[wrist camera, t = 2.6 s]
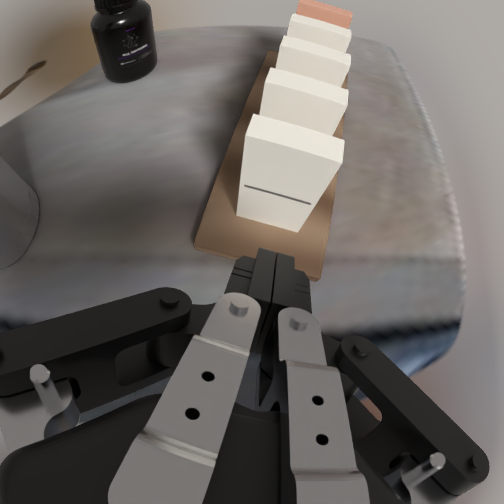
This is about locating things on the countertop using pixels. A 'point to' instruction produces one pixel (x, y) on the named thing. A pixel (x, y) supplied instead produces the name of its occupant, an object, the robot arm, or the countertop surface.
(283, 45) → the domino
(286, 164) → the domino
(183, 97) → the countertop surface
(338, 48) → the domino
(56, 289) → the countertop surface
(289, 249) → the board
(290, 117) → the domino
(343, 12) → the domino
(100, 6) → the supplement bottle
